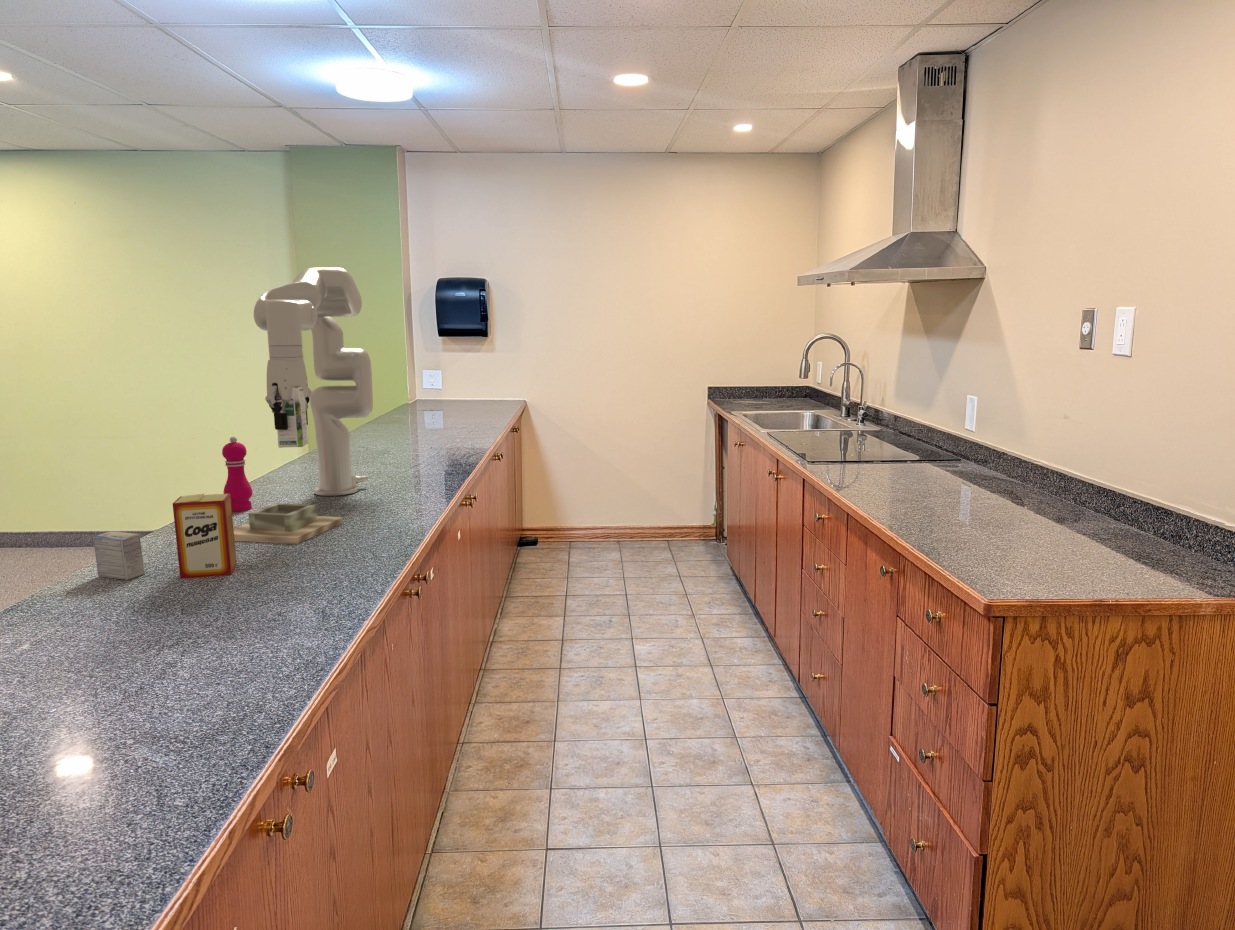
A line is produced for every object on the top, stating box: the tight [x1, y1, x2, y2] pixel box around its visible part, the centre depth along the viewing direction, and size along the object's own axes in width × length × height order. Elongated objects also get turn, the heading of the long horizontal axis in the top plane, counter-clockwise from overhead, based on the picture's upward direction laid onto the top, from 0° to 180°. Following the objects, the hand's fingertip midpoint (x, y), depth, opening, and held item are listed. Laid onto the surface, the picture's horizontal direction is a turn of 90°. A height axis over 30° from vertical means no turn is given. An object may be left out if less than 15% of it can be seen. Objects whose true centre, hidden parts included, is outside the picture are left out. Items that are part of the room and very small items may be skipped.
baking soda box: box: [172, 493, 238, 580], centre depth 171 cm, size 10×6×16 cm
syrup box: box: [276, 386, 309, 449], centre depth 201 cm, size 6×6×14 cm
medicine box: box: [92, 530, 145, 581], centre depth 170 cm, size 8×4×9 cm, turn 71°
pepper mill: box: [221, 436, 253, 512], centre depth 226 cm, size 7×7×20 cm
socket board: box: [233, 502, 344, 545], centre depth 204 cm, size 20×20×6 cm
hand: (291, 426), depth 201 cm, fingers closed on syrup box, 7 cm apart
